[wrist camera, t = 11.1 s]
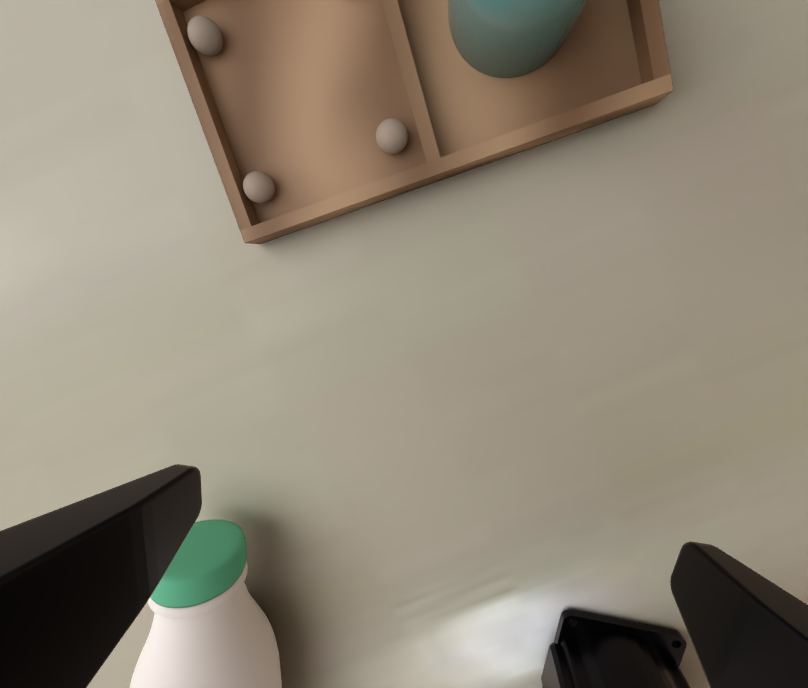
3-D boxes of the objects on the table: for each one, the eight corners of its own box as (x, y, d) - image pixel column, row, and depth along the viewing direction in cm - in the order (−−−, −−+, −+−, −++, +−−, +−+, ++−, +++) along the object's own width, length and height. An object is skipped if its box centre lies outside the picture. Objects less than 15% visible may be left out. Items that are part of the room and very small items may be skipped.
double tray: (600, -202, 14) (619, -261, 13) (655, 104, 16) (677, 86, 15) (174, 10, 18) (145, -16, 16) (259, 244, 20) (241, 242, 18)
